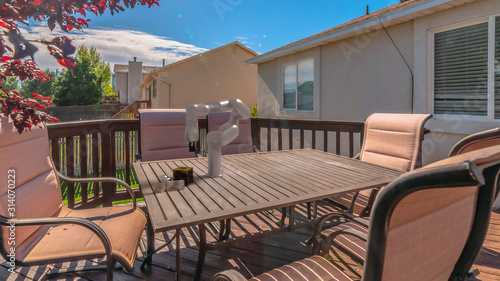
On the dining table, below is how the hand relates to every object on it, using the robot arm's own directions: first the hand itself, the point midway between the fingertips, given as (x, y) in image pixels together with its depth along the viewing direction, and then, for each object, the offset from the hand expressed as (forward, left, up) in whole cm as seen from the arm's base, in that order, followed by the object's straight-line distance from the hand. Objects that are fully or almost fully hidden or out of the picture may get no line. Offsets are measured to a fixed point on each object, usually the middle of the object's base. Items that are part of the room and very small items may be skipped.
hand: (192, 151), depth 189 cm
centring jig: (+26, 0, -19) cm, 32 cm away
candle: (+10, 0, -19) cm, 22 cm away
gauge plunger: (+25, 0, -14) cm, 28 cm away
